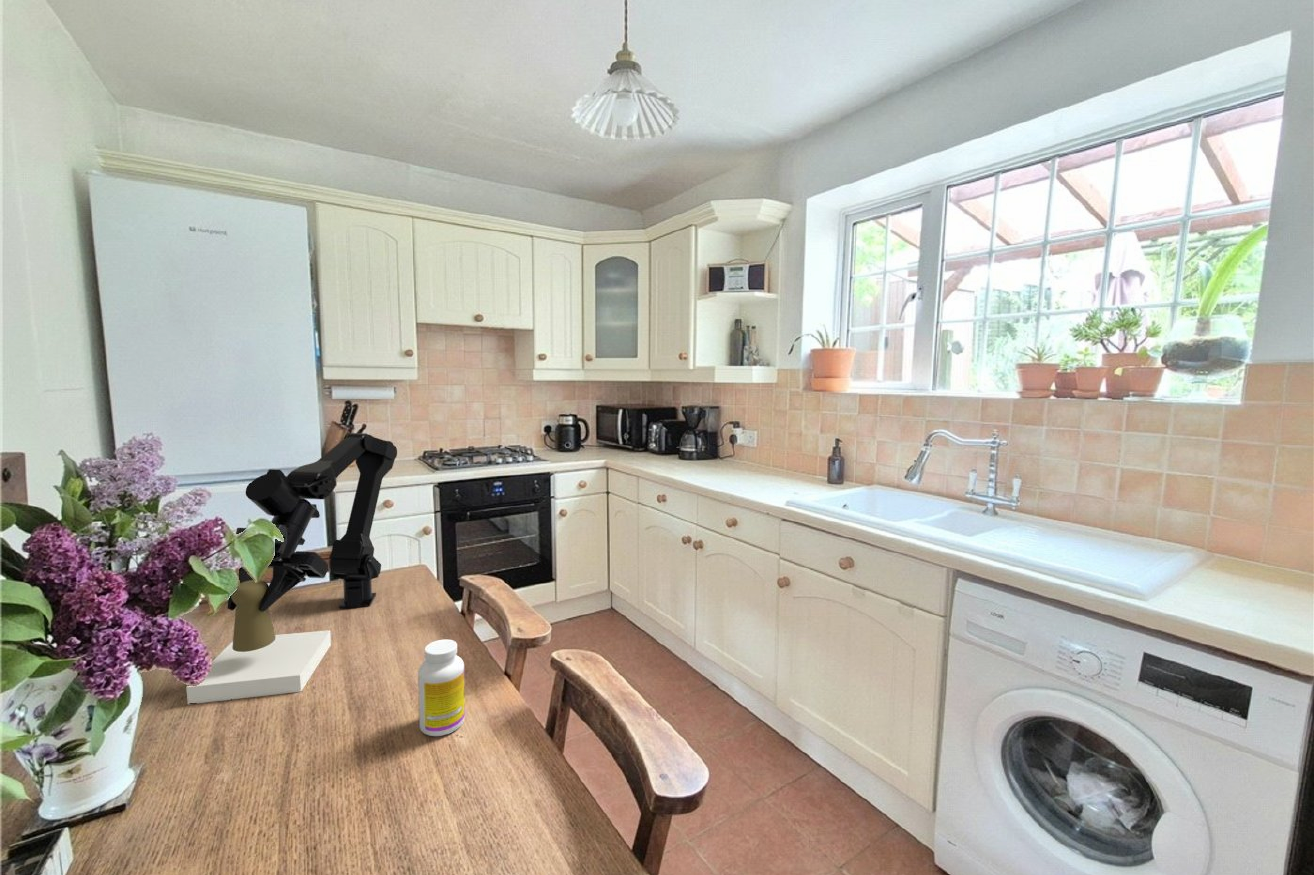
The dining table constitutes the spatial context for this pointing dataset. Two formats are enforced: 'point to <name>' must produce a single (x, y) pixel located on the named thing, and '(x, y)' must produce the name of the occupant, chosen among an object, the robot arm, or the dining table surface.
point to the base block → (263, 668)
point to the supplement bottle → (441, 689)
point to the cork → (251, 618)
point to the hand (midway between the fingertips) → (245, 610)
